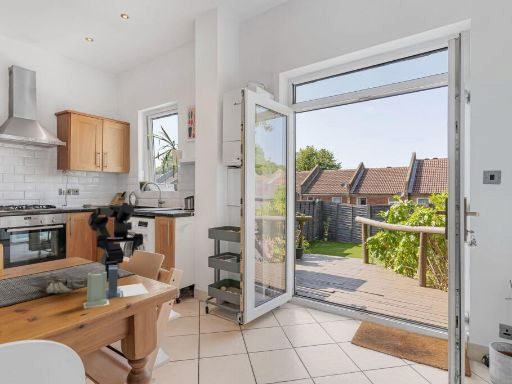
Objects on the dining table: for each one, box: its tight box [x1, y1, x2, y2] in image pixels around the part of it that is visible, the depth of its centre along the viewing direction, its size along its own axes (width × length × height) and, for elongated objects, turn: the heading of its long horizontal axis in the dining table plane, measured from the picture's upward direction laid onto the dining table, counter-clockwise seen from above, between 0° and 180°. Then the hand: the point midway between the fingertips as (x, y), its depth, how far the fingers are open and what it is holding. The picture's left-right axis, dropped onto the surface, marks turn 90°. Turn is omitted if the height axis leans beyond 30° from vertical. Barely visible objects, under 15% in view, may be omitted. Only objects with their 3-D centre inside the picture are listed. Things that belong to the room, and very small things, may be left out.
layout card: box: [82, 282, 150, 310], centre depth 117 cm, size 21×23×1 cm
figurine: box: [24, 273, 86, 295], centre depth 120 cm, size 20×6×17 cm
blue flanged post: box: [106, 264, 121, 299], centre depth 116 cm, size 6×6×11 cm
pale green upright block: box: [86, 271, 108, 307], centre depth 107 cm, size 6×4×11 cm, turn 122°
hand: (120, 256), depth 126 cm, fingers open, 9 cm apart
